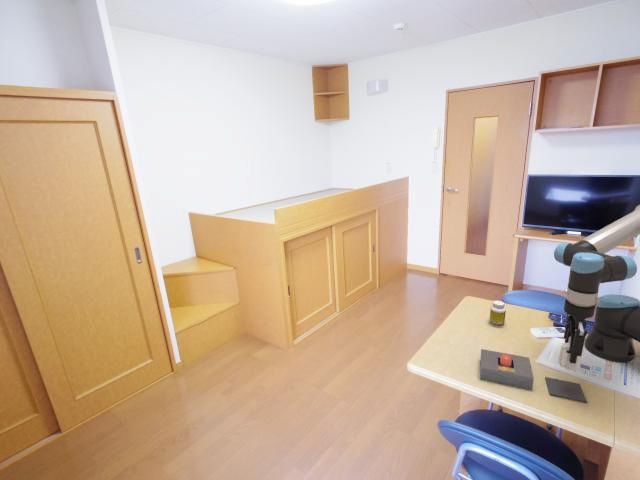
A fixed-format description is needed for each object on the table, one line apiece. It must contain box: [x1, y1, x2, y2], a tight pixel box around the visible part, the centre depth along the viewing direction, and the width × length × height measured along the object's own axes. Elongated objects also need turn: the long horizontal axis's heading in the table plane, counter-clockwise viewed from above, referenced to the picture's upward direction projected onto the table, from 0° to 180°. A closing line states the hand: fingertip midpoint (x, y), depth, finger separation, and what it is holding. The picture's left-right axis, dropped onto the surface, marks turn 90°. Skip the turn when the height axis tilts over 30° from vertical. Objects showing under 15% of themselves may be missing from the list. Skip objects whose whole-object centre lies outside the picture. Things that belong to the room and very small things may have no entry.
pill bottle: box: [488, 300, 507, 328], centre depth 154 cm, size 6×6×11 cm
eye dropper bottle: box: [558, 337, 584, 371], centre depth 109 cm, size 4×6×12 cm
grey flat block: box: [479, 348, 535, 391], centre depth 122 cm, size 16×12×5 cm
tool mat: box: [544, 376, 588, 404], centre depth 113 cm, size 10×9×1 cm
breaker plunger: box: [500, 353, 512, 368], centre depth 121 cm, size 4×4×6 cm
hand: (568, 365), depth 111 cm, fingers closed on eye dropper bottle, 3 cm apart
